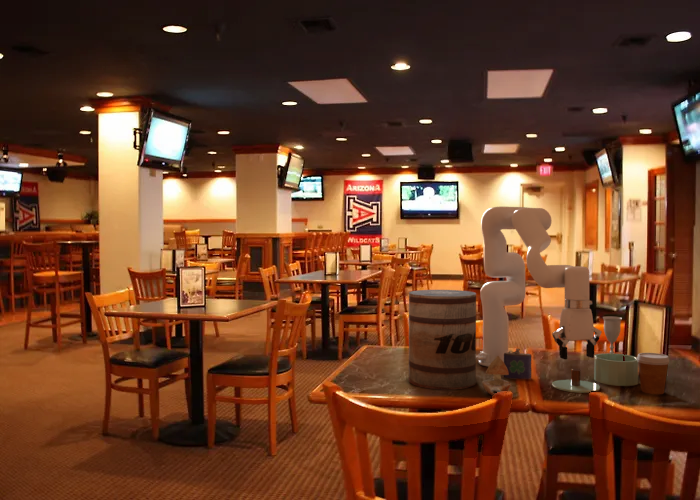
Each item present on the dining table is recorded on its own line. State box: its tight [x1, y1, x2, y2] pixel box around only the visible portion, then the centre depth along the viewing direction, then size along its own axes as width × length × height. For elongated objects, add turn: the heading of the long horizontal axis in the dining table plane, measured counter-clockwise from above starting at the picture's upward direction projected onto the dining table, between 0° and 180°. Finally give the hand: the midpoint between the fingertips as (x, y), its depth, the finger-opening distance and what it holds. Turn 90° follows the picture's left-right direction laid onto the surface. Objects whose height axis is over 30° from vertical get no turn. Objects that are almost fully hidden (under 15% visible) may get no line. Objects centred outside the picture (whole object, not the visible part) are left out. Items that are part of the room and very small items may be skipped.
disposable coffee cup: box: [636, 352, 671, 395], centre depth 200 cm, size 10×10×12 cm
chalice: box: [602, 315, 623, 354], centre depth 241 cm, size 7×7×18 cm
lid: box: [551, 368, 601, 394], centre depth 206 cm, size 15×15×6 cm
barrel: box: [408, 289, 477, 390], centre depth 215 cm, size 22×22×30 cm
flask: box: [503, 348, 532, 380], centre depth 218 cm, size 9×3×11 cm, turn 74°
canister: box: [593, 352, 640, 387], centre depth 214 cm, size 14×14×8 cm
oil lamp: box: [482, 356, 512, 397], centre depth 199 cm, size 9×21×10 cm, turn 165°
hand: (577, 357), depth 205 cm, fingers open, 9 cm apart
